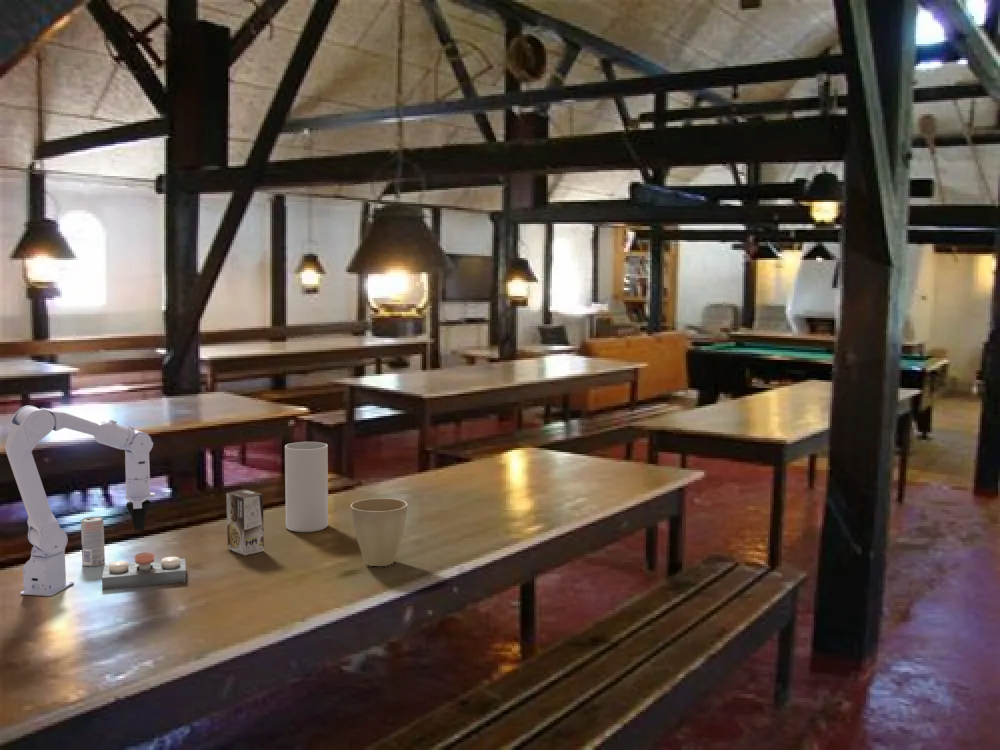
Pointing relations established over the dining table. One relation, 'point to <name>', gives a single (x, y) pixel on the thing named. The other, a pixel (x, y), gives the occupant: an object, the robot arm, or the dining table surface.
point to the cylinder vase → (306, 486)
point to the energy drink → (92, 541)
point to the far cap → (170, 562)
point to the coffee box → (245, 522)
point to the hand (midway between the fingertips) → (139, 529)
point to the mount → (143, 576)
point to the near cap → (118, 566)
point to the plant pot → (379, 528)
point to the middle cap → (144, 560)
